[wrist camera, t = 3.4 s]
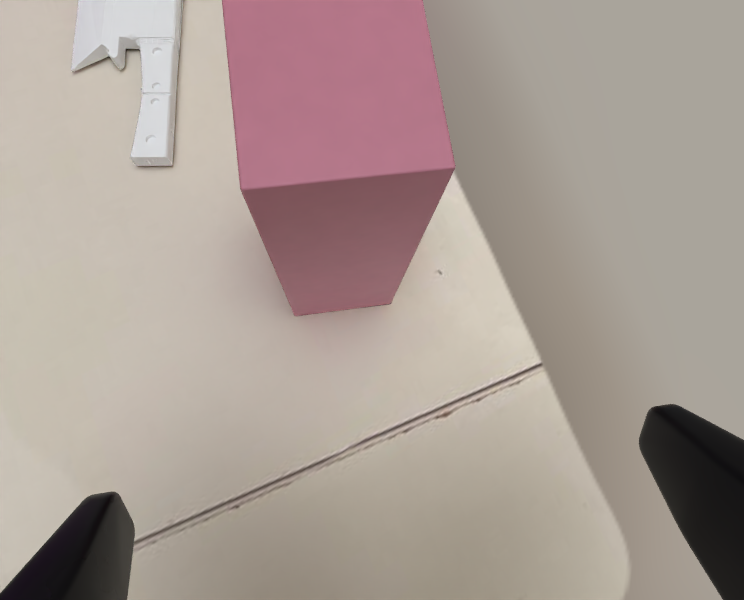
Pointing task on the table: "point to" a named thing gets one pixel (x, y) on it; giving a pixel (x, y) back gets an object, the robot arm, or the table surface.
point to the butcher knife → (158, 61)
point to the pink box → (337, 141)
